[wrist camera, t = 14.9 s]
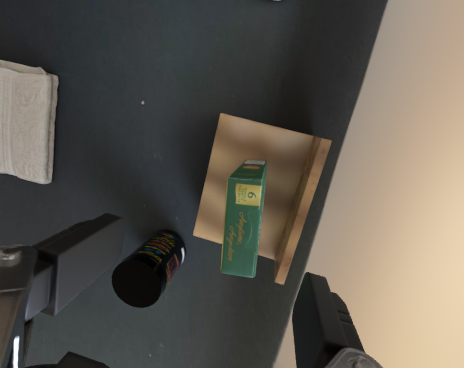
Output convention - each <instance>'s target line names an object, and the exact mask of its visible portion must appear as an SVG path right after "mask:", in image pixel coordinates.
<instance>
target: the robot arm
mask: <svg viewBox="0 0 464 368" xmlns="http://www.w3.org/2000/svg"><path fill="white" fill-rule="evenodd" d="M124 227H125V220H124V218H123V217H119V216H116V215H112V214H109V213H105V214H103V215H101V216H99V217H97V218H95V219H94V220H89V221H85V222H80V223H77V224H75V225H73V226H71V227H69V228H68V229H65V230H63V231H61V232H60V233H59V234H58V233H57V234H55V235H53V236H51V237H49V238H47V239H45V240H43V241H41V242H39V243H37V244H35V245H33V246H31V247H30V246H27V245H5V246H0V368H24V367H25V362H26V358H27V353H28V348H29V343H30V338H31V334H32V329H33V324H34V316H35V315H36V314H38V313H39V312H43V313H46V314H49V315H52V316H55V315H56V314H57V313H58V312H59V311H61V310H62V309H63V308H64V307H65V306H66V305H67V304H69V303H70V302H71V301H72V300H73V299H74V298H76V297H77V296H78V295H79V294H80V293H81V292H82V291H84V290H85V289H86V288H87V287H88V286H89V285H90V284H92V283H93V282H94V281H95V280H96V279H97V278H99V277H100V276H101V275H102V274H103V273H104V272H105V271H107V270H108V269H109V268H110V267H111V266H112V265H113V264H114V263H115V262H116V261H117V259H118V258H119V255H120V253H121V248H122V241H123V234H124ZM292 323H293V334H294V344H295V355H296V365H297V368H383V367H382V366H381V365H380V364H379V363H378V362H377V361H376V360H374V359H373V358H372V357H370V356H369V355H367V354H366V353H365V351H364V349H363V346H362V344H361V342H360V339H359V336H358V334H357V331H356V329H355V326H354V325H353V322H352V319H351V316H349V312H348V309H347V306H346V304H345V303H344V302H343V300H342V299H341V298H340V297H339V296H338V295H337V294H336V293H333V292H331V291H330V288H329V286H328V283H327V280H326V278H325V277H323V276H319V275H315V274H312V273H309V272H306V273H305V275H304V278H303V280H302V283H301V286H300V289H299V292H298V295H297V298H296V301H295V304H294V308H293V314H292ZM25 368H109V367H108V366H107V365H105V364H104V363H101V362H98V361H95V360H92V359H90V358H87V357H84V356H81V355H78V354H75V353H72V352H70V351H69V352H68V353H67V354H66V355H65V356H64V357H63V358H62V359H61V360H60V361H59V363H58V364H42V365H35V366H29V367H25Z"/></svg>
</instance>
